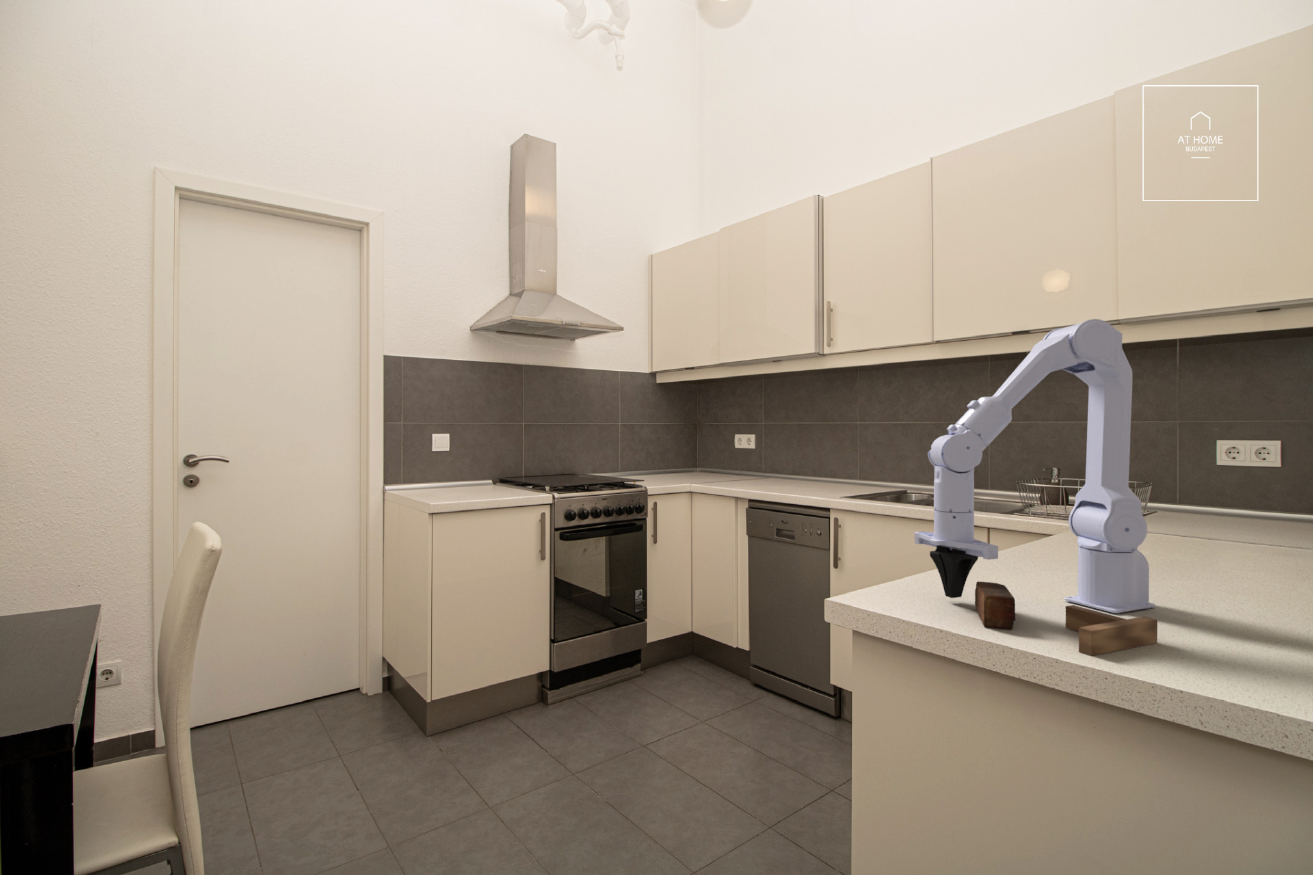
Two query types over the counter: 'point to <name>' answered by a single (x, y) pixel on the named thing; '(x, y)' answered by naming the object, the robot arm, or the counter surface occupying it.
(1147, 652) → the counter surface
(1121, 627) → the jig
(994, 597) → the brick
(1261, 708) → the counter surface
